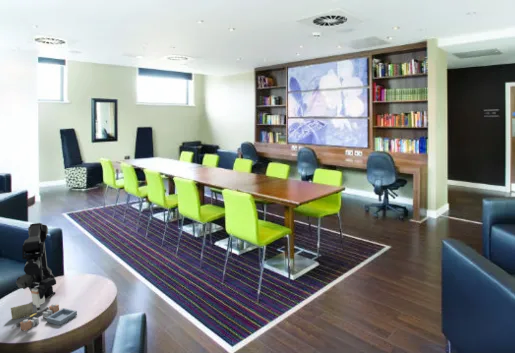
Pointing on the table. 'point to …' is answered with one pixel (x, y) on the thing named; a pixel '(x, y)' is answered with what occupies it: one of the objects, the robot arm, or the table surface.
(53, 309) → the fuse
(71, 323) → the table surface
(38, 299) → the marked fuse
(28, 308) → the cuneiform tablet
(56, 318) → the tray
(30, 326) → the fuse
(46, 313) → the fuse block
